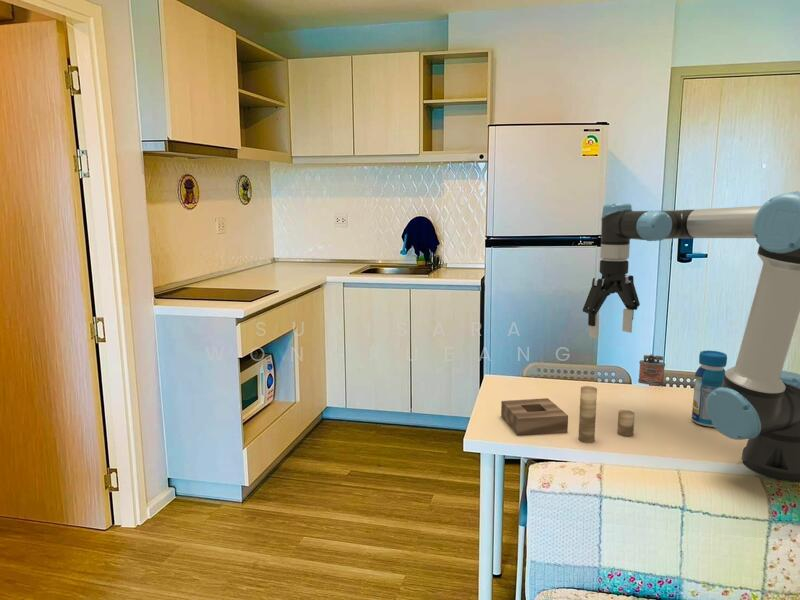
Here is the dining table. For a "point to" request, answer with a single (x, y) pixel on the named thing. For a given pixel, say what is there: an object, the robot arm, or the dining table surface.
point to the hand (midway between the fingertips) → (610, 334)
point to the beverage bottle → (707, 383)
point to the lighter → (651, 370)
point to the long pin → (587, 414)
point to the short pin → (625, 423)
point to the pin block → (534, 417)
